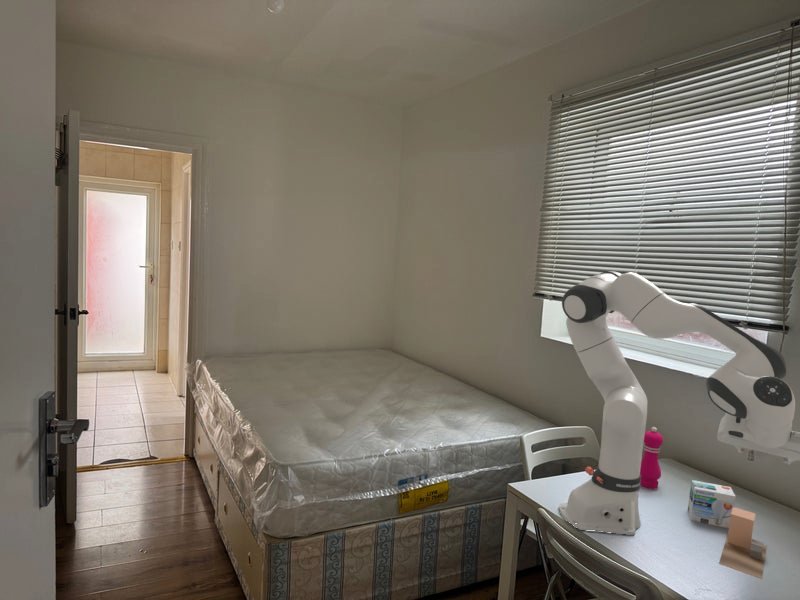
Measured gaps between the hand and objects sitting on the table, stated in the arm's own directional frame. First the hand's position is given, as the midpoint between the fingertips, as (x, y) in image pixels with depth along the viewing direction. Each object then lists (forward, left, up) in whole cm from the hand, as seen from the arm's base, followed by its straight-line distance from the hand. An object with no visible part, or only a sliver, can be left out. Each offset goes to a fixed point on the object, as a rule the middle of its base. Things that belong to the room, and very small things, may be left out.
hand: (763, 455), depth 134 cm
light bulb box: (+4, +20, -29) cm, 35 cm away
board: (0, +2, -29) cm, 29 cm away
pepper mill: (0, +44, -29) cm, 52 cm away
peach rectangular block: (+4, +8, -28) cm, 29 cm away
